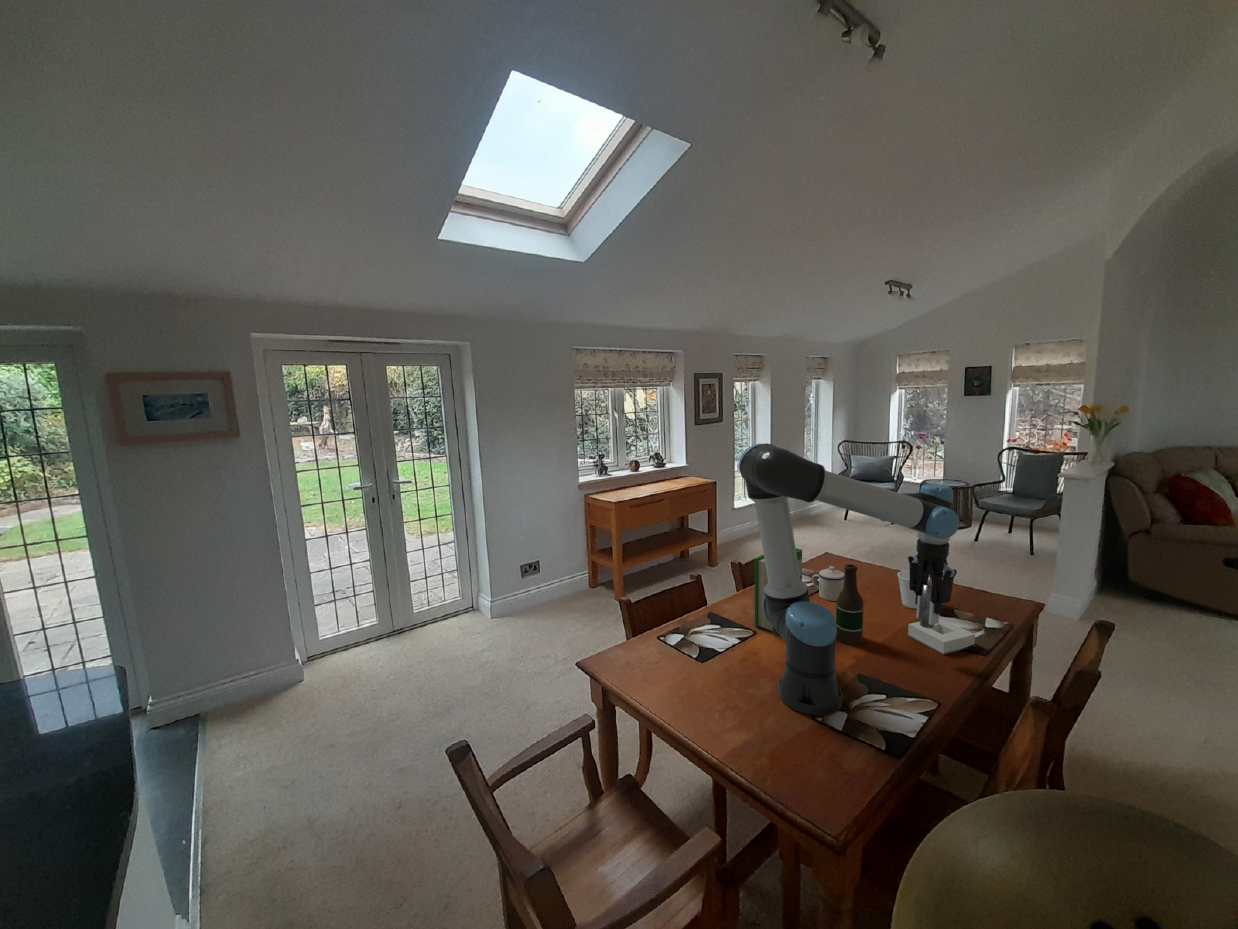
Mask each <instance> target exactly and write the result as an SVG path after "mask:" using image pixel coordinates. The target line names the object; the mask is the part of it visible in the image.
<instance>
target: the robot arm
mask: <svg viewBox="0 0 1238 929" xmlns="http://www.w3.org/2000/svg"><path fill="white" fill-rule="evenodd" d="M738 470H739V473H740V475H741V477H742V479H743V480H744V481H745V487H746V492H747V498H748V499H750V500H751V501H753V502H754V504H755V511H756V516H757V523H758V528H759V529H758V530H759V535H760V540H761V546H762V551H763V552H762V553H763V554H764V560H765V566H766V572H767V578H768V583H767V585H766V586H765V587H764V593H765V595H764V597H763V603H762V605H763V610H764V613H765V616H766V618H767V620H768V621H769V622H770V623H771V624H772V625H773V627H774V628H775V629H776V631H777V632H778V633H777V634H778V635H779V636H780V638H782V640H783V641H784V642H785V646H786V647H785V649H786V650H785V668H784V671H783V673H782V677H781V678H780V680H779V682H778V696H779V698H780V699H781V701H782V702H783V703H784V704H785V705H786V706H787V707H788V708H790V709H792V710H794V711H796V712H798V713H801V714H804V715H808V716H813V717H815V716H817V717H822V716H825V717H826V716H830V715H833V714H836V713H837V712H839V711H840V710H841V708H842V707H843V693H842V692H843V691H842V690H841V687H840V683H839V680H838V678H837V675H836V654H837V653H836V651H837V650H836V649H837V646H836V645H837V638H836V635H837V628H836V617H835V616H834V614H833V613H832V612H831V611H830V610H829V608H827V607H826V606H823V605H821V604H820V605H818V603H815V602H811V600H810V599H811V598H810V592H809V587H808V584H807V583H806V582H804V581H803V580H802V581H801V580H800V573H799V567H798V561H797V554H796V544H795V542H796V541H795V537H794V529H793V524H792V523H793V522H792V517H791V511H790V505H789V498H790V499H794V500H799V501H803V502H806V503H813V502H817V501H818V502H821V503H823V504H827V505H831V506H833V507H834V506H835V507H837V508H840V509H844V510H847V511H851V512H854V513H858V514H861V515H865V516H867V517H870V518H874V519H878V520H880V521H882V522H887V523H891V524H894V525H898V526H900V527H903V528H904V527H905V528H908V529H910V530H913V531H916V532H917V533H916V534H917V536H916V537H917V538H918V539H917V540H916V552H917V554H916V555H911V556H908V557H907V560H908V564H909V571H910V590H913V591H914V592H915V594H916V600H915V604H916V605H917V609H916V611H915V612H916V614H915V616H916V617H915V618H917V619H919V620H920V615H921V602H922V588H923V583H927V582H928V578H929V577H930V580H931V583H932V591H933V601H931V602H930V613H929V624H930V625H933V624H938V623H939V618H940V615H941V614H942V612H943V605H944V604H947V603H948V604H949V603H950V602H951V599H952V592H953V591H952V590H953V585H954V579H955V577H956V575H957V572H958V571H957V570H956V569H955V568H954V569H952V568H951V567H949V565H948V560H947V558H948V556H949V555H950V543H949V541H950V539H951V537H953V536H954V535H955V534H956V533H957V532H958V530H959V526H960V518H959V516H958V514H957V513H956V512H955V511H954V510H953V508H954V490H953V488H952V487H951V486H948V485H945V484H939V483H925V484H922V485H921V487H920V490H919V492H911V493H909V492H906V493H902V492H901V493H899V492H898V491H897V492H896V491H893V490H891V489H887V488H883V487H880V486H877V485H874V484H871V483H868V482H863V481H861V480H857V479H855V478H851V477H847V476H845V475H841V474H839V473H835V472H831V471H829V470H826V468H825V466H824V465H823V464H819V463H818V462H815V461H814V462H813V461H811V460H809V459H806V458H804V457H802V456H800V455H798V454H796V453H794V452H792V451H790V450H788V449H786V448H783V447H778V446H776V445H775V444H771V443H756V444H753V445H751V446H748V447H747V448H746V449H745V450H744V451H743V453H742V454H741V456H740V458H739V462H738ZM763 554H762V555H763ZM928 583H929V582H928ZM914 585H915V586H914Z"/></svg>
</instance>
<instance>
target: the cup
mask: <svg viewBox="0 0 1238 929" xmlns="http://www.w3.org/2000/svg"><path fill="white" fill-rule="evenodd" d="M897 576H898V583H899V589H900V596H901V603H902V605H903V606H904V607H906V608H909V609H914V610H915V609H916V610H917V605H916V604H915V600H916V594H915V592H914V591H913V590H910V570H901V571H899V572H897ZM930 580H931V578H930V576H929V578H928V582H927V583H930ZM914 586H915V585H914Z"/></svg>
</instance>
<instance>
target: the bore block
mask: <svg viewBox="0 0 1238 929" xmlns="http://www.w3.org/2000/svg"><path fill="white" fill-rule="evenodd" d="M907 626H908V627H907V629H908V631H907V633H908V634H907V637H909V638H910V639H913V640H915V641H916V642H918V643H920V644H922V645H924V646H925V647H928V648H929V649H932V650H933V651H935V652H936V653H939V654H940V655H942V656H944V655H949V654H952V653H956V652H960V650H961V651H963V650H962V649H964V648H965V647H968V646H970V645H973V644H974V645H975V642H976V641H975V639H976V634H975V633H973V632H970V631H968V630H966V629H964V628H962V627H960V626H958V625H956V624H954V623H952V622H949V621H947V620H945V619H942V618H940V617H939V623H938V624H934V628H925V627H922V626H921V625H920V621H916V622H912V623H908V625H907Z"/></svg>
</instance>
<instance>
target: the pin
mask: <svg viewBox="0 0 1238 929" xmlns="http://www.w3.org/2000/svg"><path fill="white" fill-rule="evenodd" d="M931 601H933V591H932V582H928V583H923V588H922V602H921V615H920V618H919V622H920V625H921V626H922V627H925V628H934V624H933V625H930V624H929V613H930V602H931Z"/></svg>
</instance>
